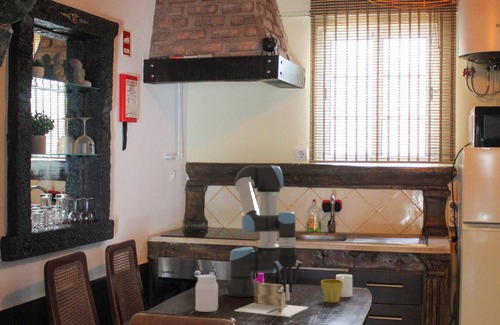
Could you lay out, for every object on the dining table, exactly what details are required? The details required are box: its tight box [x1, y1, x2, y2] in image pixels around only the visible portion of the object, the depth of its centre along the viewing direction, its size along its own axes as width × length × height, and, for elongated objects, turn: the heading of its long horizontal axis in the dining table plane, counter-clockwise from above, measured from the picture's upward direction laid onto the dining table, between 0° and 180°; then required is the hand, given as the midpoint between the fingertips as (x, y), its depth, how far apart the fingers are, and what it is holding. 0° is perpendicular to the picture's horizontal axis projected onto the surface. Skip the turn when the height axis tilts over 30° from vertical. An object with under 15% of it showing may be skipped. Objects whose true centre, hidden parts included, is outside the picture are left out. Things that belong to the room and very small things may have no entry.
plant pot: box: [320, 278, 343, 303], centre depth 339 cm, size 10×10×10 cm
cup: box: [335, 273, 353, 298], centre depth 352 cm, size 8×12×10 cm
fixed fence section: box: [254, 281, 283, 305], centre depth 330 cm, size 14×2×10 cm, turn 62°
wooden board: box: [278, 285, 287, 312], centre depth 318 cm, size 19×2×9 cm, turn 171°
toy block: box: [253, 273, 265, 284], centre depth 379 cm, size 15×6×8 cm, turn 84°
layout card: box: [234, 301, 310, 318], centre depth 321 cm, size 27×22×1 cm
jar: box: [194, 274, 219, 313], centre depth 321 cm, size 12×10×15 cm
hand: (287, 299), depth 314 cm, fingers closed
